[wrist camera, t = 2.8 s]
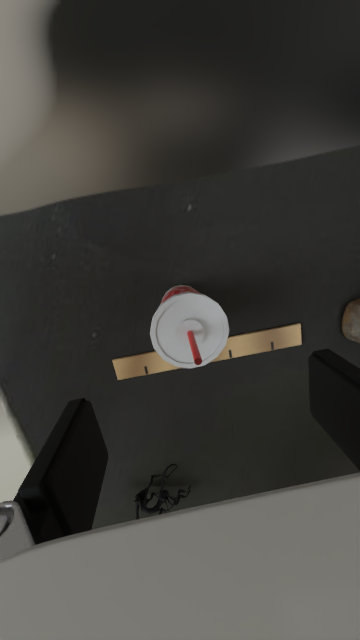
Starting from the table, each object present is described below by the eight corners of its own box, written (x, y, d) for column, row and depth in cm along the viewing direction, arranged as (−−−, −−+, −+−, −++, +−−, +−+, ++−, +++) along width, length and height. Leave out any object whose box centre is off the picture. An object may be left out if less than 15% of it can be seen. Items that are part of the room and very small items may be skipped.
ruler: (299, 322, 30) (301, 324, 29) (300, 343, 30) (302, 344, 30) (112, 359, 29) (112, 360, 29) (118, 378, 30) (117, 380, 30)
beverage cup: (142, 306, 28) (122, 364, 14) (181, 265, 27) (198, 286, 13) (182, 342, 29) (198, 424, 16) (220, 304, 28) (271, 358, 15)
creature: (188, 454, 35) (130, 466, 33) (201, 488, 30) (134, 505, 28) (185, 497, 38) (131, 511, 35) (198, 536, 33) (135, 554, 30)
